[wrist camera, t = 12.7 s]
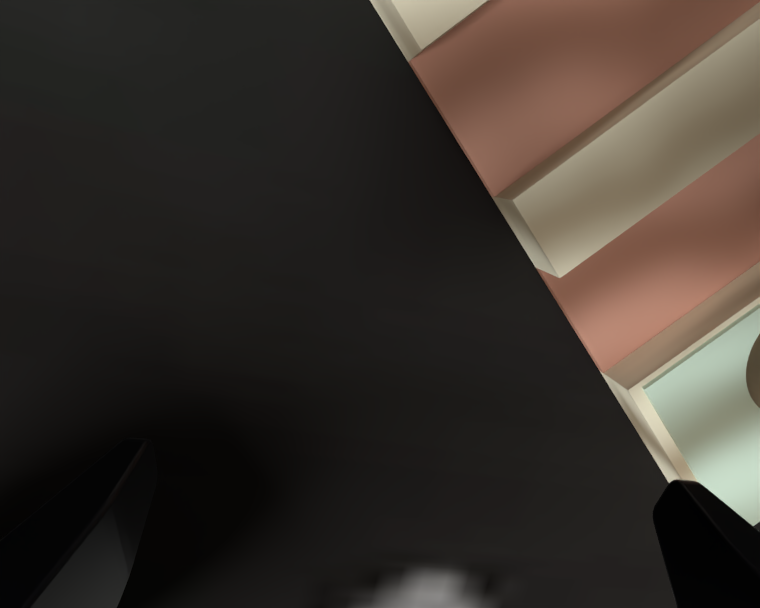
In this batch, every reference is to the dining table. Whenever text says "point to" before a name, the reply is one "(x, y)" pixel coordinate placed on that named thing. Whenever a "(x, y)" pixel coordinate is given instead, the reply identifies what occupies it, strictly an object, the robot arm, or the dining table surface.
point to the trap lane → (624, 193)
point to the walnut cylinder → (754, 372)
